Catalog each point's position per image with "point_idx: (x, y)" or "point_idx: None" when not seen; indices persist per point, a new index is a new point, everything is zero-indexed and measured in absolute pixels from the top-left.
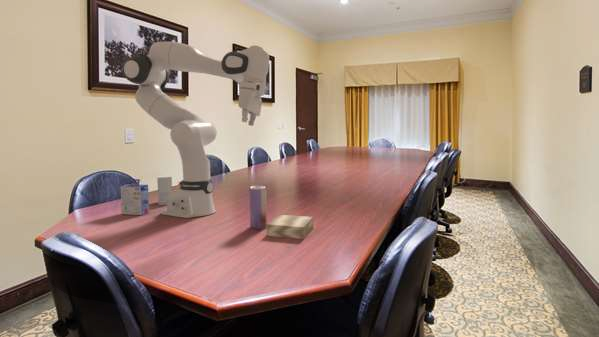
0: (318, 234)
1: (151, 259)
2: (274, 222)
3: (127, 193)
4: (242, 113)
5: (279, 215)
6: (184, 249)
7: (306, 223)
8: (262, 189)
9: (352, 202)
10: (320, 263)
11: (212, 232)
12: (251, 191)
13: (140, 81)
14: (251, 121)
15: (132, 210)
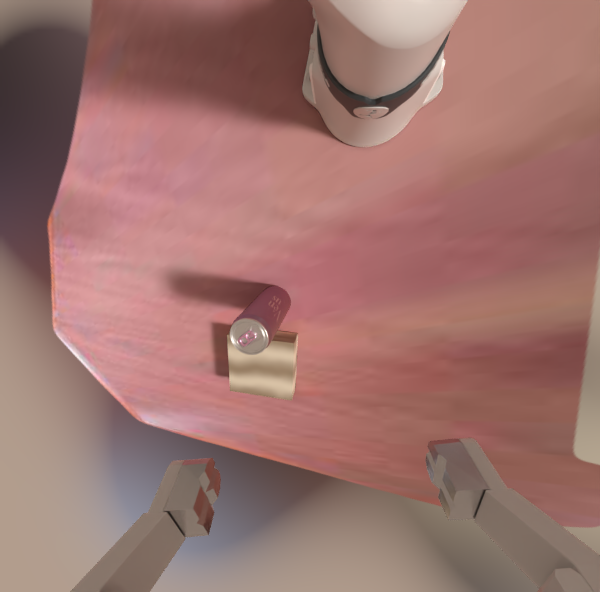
0: None
1: (87, 194)
2: None
3: None
4: (102, 563)
5: (288, 344)
6: (136, 221)
7: (250, 393)
8: (240, 349)
9: (511, 452)
10: (167, 401)
11: (223, 225)
12: (233, 322)
13: None
14: (448, 503)
15: None
